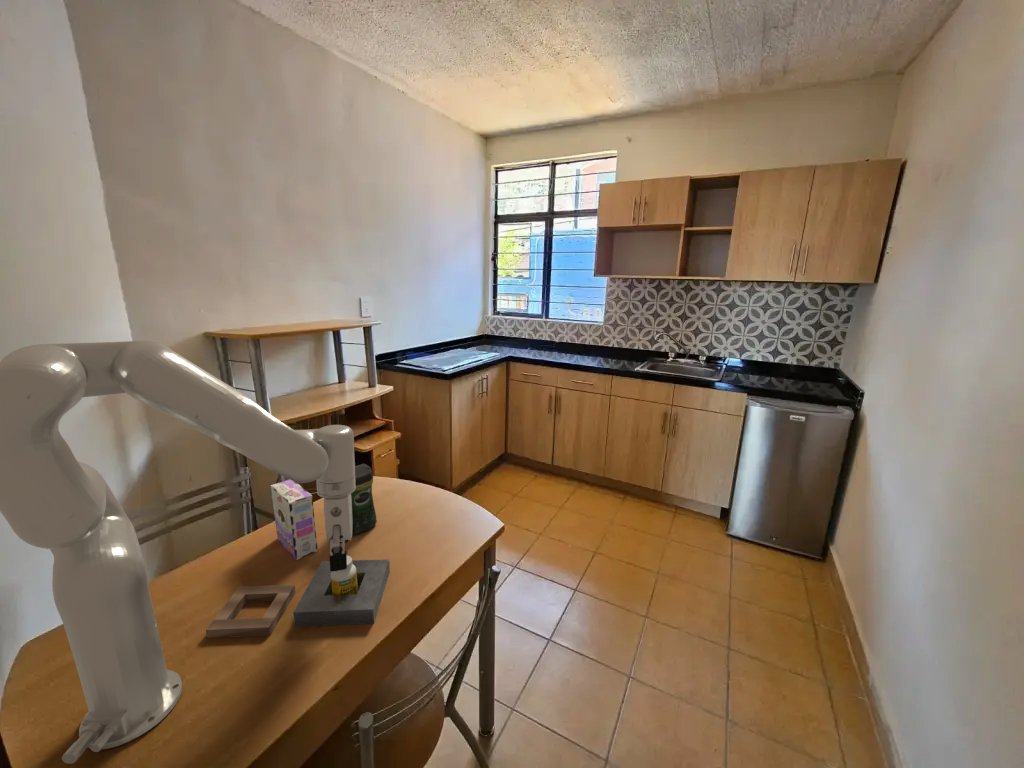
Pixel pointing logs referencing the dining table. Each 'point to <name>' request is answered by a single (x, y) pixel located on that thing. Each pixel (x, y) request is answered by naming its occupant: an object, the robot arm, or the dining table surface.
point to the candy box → (294, 518)
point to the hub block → (343, 596)
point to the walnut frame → (253, 626)
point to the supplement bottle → (345, 580)
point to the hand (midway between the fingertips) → (339, 555)
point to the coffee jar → (363, 500)
